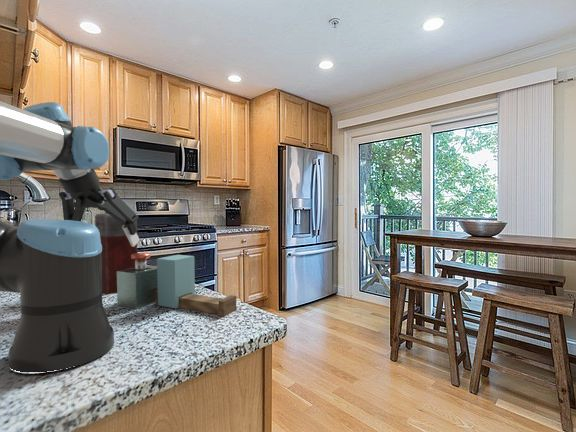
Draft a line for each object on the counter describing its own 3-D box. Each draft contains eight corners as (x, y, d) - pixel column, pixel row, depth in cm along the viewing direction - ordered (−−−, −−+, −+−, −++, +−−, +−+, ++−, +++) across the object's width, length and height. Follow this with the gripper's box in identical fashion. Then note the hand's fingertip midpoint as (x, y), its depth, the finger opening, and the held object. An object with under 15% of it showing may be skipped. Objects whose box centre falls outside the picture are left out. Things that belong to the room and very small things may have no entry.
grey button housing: (164, 299, 87) (163, 266, 86) (136, 309, 79) (135, 273, 78) (146, 296, 90) (145, 264, 89) (117, 305, 82) (116, 271, 81)
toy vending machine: (123, 282, 106) (121, 199, 105) (138, 288, 99) (136, 198, 98) (93, 287, 99) (91, 198, 98) (107, 294, 92) (105, 198, 91)
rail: (236, 309, 78) (236, 295, 78) (224, 316, 73) (223, 301, 73) (170, 298, 87) (169, 286, 87) (155, 304, 83) (155, 290, 83)
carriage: (194, 300, 85) (194, 256, 84) (175, 308, 78) (174, 260, 78) (178, 298, 87) (177, 254, 87) (157, 305, 81) (157, 258, 81)
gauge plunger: (143, 280, 81) (143, 255, 81) (127, 279, 82) (127, 255, 82) (154, 276, 86) (153, 252, 86) (139, 275, 87) (138, 252, 86)
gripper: (132, 164, 74) (161, 234, 86) (43, 166, 79) (83, 232, 91) (112, 179, 68) (147, 253, 80) (18, 180, 73) (64, 250, 85)
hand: (113, 242), depth 86 cm, fingers open, 13 cm apart
